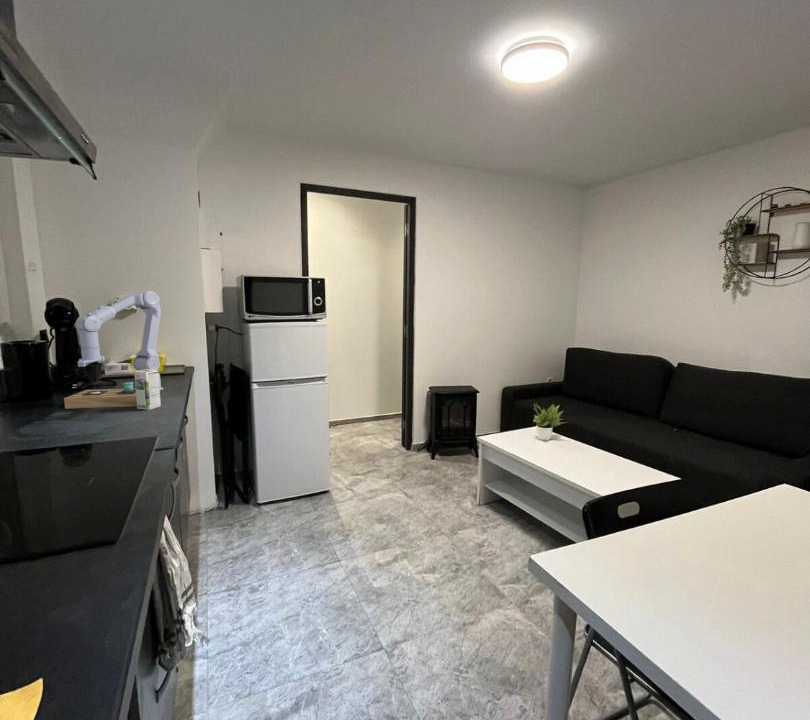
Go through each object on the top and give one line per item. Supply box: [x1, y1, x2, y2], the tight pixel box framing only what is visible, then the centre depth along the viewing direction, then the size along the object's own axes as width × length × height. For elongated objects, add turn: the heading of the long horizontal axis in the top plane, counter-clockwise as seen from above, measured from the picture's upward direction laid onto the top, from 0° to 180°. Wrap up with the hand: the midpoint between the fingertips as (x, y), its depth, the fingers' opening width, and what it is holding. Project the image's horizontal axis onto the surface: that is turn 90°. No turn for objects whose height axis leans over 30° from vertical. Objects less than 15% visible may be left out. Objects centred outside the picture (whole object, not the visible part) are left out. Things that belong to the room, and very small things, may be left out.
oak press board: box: [63, 388, 137, 410], centre depth 163 cm, size 14×26×4 cm, turn 100°
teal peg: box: [122, 381, 135, 393], centre depth 163 cm, size 3×3×4 cm
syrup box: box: [133, 369, 162, 411], centre depth 155 cm, size 6×6×14 cm
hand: (94, 381), depth 161 cm, fingers closed
